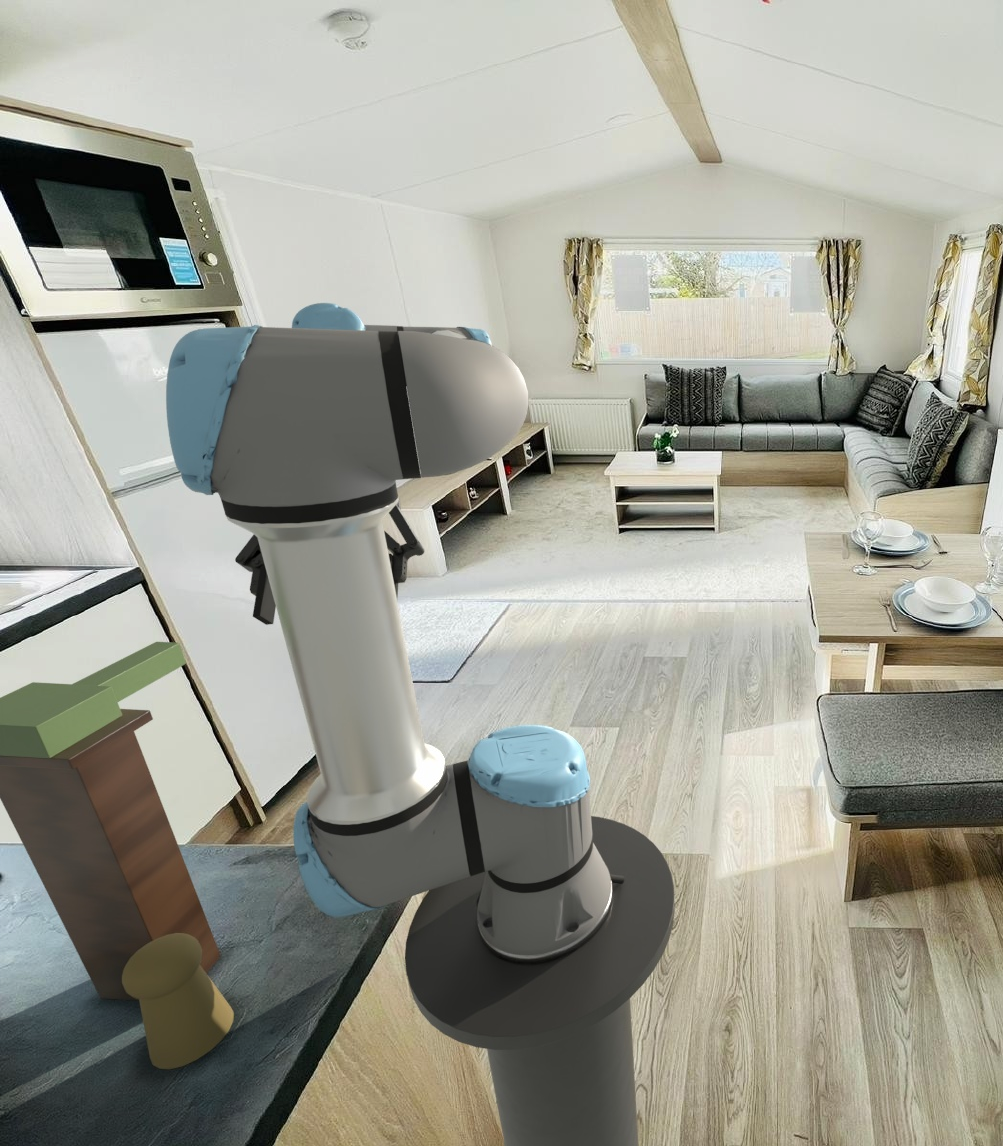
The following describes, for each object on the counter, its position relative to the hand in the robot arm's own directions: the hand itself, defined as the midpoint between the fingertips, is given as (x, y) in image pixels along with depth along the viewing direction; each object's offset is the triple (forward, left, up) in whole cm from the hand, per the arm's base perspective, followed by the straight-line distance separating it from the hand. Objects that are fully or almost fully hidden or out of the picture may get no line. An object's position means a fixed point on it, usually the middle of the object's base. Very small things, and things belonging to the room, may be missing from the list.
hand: (327, 613), depth 76 cm
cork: (0, +29, -30) cm, 42 cm away
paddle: (+7, +20, 0) cm, 21 cm away
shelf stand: (+7, +24, -30) cm, 39 cm away
